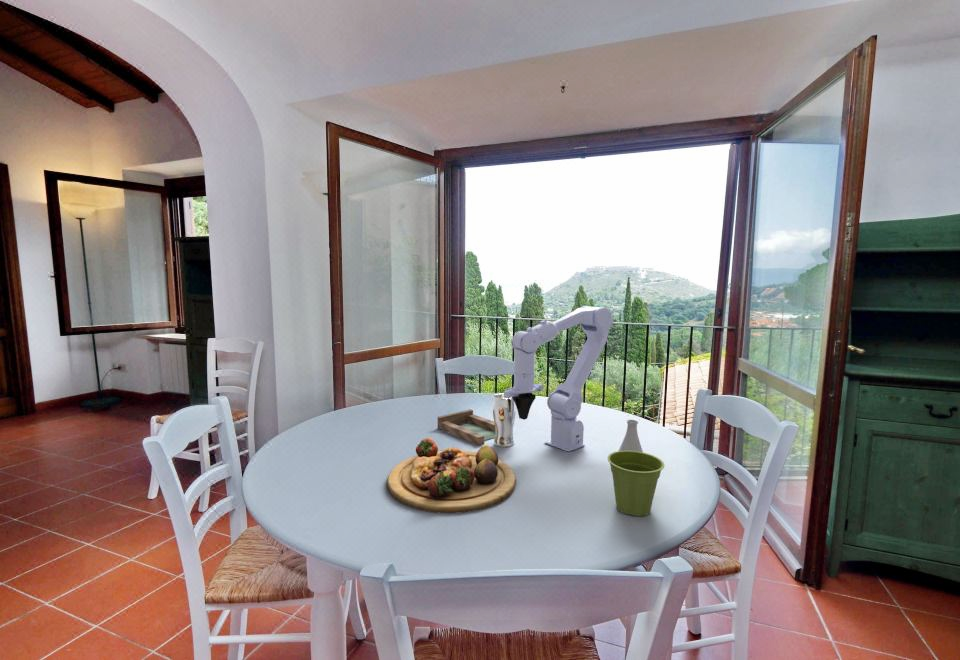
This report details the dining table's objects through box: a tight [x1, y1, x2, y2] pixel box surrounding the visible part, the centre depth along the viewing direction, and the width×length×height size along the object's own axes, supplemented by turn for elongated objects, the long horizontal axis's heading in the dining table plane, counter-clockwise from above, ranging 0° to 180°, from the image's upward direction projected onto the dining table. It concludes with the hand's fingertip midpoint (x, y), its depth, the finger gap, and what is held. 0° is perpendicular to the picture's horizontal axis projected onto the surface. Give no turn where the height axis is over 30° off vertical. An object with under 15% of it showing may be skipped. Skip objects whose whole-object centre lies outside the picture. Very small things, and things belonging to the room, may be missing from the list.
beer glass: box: [492, 392, 517, 448], centre depth 143 cm, size 7×7×15 cm
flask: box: [618, 419, 644, 453], centre depth 135 cm, size 7×7×10 cm
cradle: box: [437, 409, 496, 446], centre depth 154 cm, size 21×14×4 cm
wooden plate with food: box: [386, 437, 517, 514], centre depth 116 cm, size 32×32×8 cm
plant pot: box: [607, 450, 665, 517], centre depth 103 cm, size 12×12×11 cm
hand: (523, 418), depth 136 cm, fingers closed
